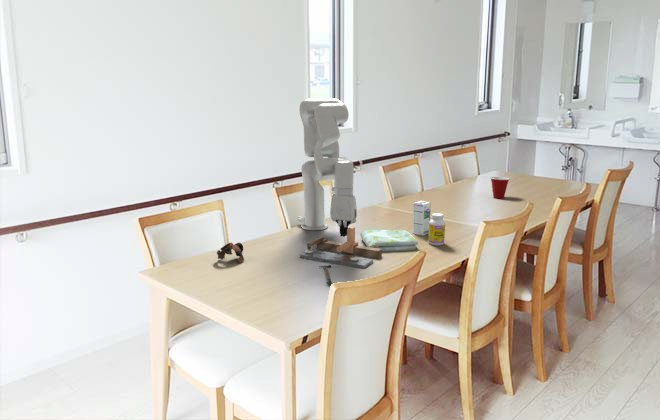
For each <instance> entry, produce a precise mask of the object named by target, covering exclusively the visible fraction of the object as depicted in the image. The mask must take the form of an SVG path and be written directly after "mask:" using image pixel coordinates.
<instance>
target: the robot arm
mask: <svg viewBox="0 0 660 420" xmlns="http://www.w3.org/2000/svg"><path fill="white" fill-rule="evenodd" d="M299 116H300V120H301V122H302V125H303V145H304V154H305V156H306V157H308V158H313V159H314V160H313V159H312V160H307V161H305V162H303V164H302V165H301V175H302V177H301V178H302V181H303V211H304V213H303V216H300V215H299V216H298V217H297V222H301V224H300V227H302V228H301V229H302V230H303V229H304V230H307V231H322V230H325V229H328V227H329V224H328V223H327V222H325V219H326V218H325V217H326V215H325V189H324V187H323V185H322V184H321V183H320V182H321V181H322V182H323V181H333V180H334V185H333V187H331V191H333V194H332V196H331V200H330V207H329V208H330V211H329V212H330V213H329V214H330V215H329V216H330V218H331V221H332V222H336V224H337V225H338V227H339V235H340V237H344V238H345V237H347V229H348V228H349V226H350V225H352V224H356V223H357V219H356V218H357V217H358V214H357V213H358V212H357V211H358V209H357V201H356V196H355V194H354V162H353V161H352V160H350V159H349V158H348V157H345V156H344V157H343V156H340V143H339V141H338V140H339V139H340V138H341V137H340V136H341V133H340V129H339V125H338V124H345V123H346V122H348V120H349V110H348V108H347V105H346V104H345V103H344V102H342V101H341V100H339V99H337V98H332V97H330V98H327V97H325V98H324V97H323V98H320V97H319V98H315V97H314V98H307V99H303V100H302V101H301V102H300V103H299Z"/></svg>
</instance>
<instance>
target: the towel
mask: <svg viewBox="0 0 660 420" xmlns="http://www.w3.org/2000/svg"><path fill="white" fill-rule="evenodd" d="M359 236H360V237H361V239H362V241H363V242H364V244H365V245H366V246H365V247H372V248H379V249H382V252H392V251H393V252H396V251H398V252H399V251H413V250H416V249H417V245H419V242H418V240H417V238H415V237H414V235H412V234H411V233H410V232H409V231H408V230H405V229H377V228H376V229H375V228H374V229H373V228H372V229H370V228H369V229H363V230H361V232H360V235H359Z"/></svg>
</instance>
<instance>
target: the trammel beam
mask: <svg viewBox="0 0 660 420" xmlns="http://www.w3.org/2000/svg"><path fill="white" fill-rule="evenodd" d="M344 243H345V242H339V241H338V242H336V241H332V240H329V238H328V237H325V236H318V237H317V238H314V239H312V240H311V241H309V242H307V243H306V249H307V250H311V249H312V247H315V246H316V249H317V250H322V251H323V250H324V251H328V252H330V251H331V252H335V253H337V247H339V246H341V245H342V244H344ZM382 252H383V251H382V249H379V248H372V247H367V246H365V245H364V246H363V245H359V244H358V245H355V246H354V252H353V253H349V252H344V250H343V251H341V254H342V253H344V254H347V255H348V254H351V255H354V256H360V257H361V256H362V257H368V258H372V259H373V258H374V259H380V258H381V257H382V256H383V255H382Z"/></svg>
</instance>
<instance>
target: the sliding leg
mask: <svg viewBox="0 0 660 420" xmlns="http://www.w3.org/2000/svg"><path fill="white" fill-rule="evenodd" d="M343 243H344V244H342V245H341V246H339V247H337V252H336V254H338V255H340V254H342V252H341V251H343V250H344V252H349V253H353V252H354V246H355V245H359V242H358V241H357V240H356V226H350V227H348V229H347V236H346V241H344V242H343Z"/></svg>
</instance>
